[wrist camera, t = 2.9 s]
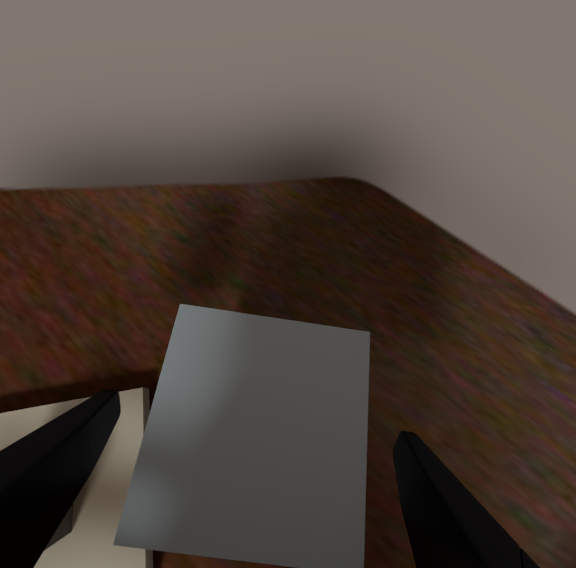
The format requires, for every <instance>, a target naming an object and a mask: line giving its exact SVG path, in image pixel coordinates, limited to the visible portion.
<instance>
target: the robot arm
mask: <svg viewBox="0 0 576 568" xmlns="http://www.w3.org/2000/svg"><path fill="white" fill-rule="evenodd" d="M120 413H121V406H120V396H119V392H118V391H114V390H107V389H106V390H102V391H101V392H99V393H97V394H95V395H94V396H92V397H90V398H89V399H87V400H85V401H84V402H82V403H80V404H78V405H77V406H75V407H73V408H72V409H70V410H68V411H67V412H65V413H63V414H62V415H60V416H58V417H56V418H55V419H53V420H51V421H50V422H48V423H46V424H45V425H43V426H41V427H39V428H38V429H36V430H34V431H33V432H31V433H29V434H28V435H26V436H24V437H23V438H21V439H19V440H17V441H16V442H14V443H12V444H11V445H9V446H7V447H6V448H4V449H2V450H0V568H34V566H35V565H36V563H37V561H38V560H39V558H40V556H41V555H42V553H43V552H44V550H45V548H46V547H47V545H48V543H49V542H50V540H51V538H52V537H53V535H54V534H55V532H56V530H57V529H58V527H59V525H60V524H61V522H62V520H63V519H64V517H65V516H66V514H67V512H68V511H69V509H70V507H71V506H72V504H73V503H74V501H75V499H76V498H77V496H78V494H79V493H80V491H81V489H82V488H83V486H84V485H85V483H86V481H87V480H88V478H89V476H90V475H91V473H92V471H93V469H94V468H95V466H96V464H97V462H98V460H99V458H100V456H101V454H102V452H103V450H104V448H105V446H106V444H107V442H108V440H109V437H110V435H111V433H112V431H113V429H114V427H115V425H116V423H117V421H118V419H119V417H120ZM393 458H394V465H395V471H396V478H397V484H398V490H399V497H400V502H401V508H402V512H403V517H404V521H405V525H406V528H407V532H408V536H409V540H410V544H411V548H412V552H413V556H414V560H415V564H416V568H540V567H539V566H538V565H537V564H536V563H535V562H534V561H533V560H532V559H531V558H530V557H529V556H528V555H527V553H526V552H525V551H524V550H523V549H521V548H520V547H519V545H518V544H517V543H516V542H515V541H514V540H513V538H512V537H511V536H510V535H509V534H508V533H507V532H506V531H505V530H504V529H503V528H502V527H501V525H500V524H499V523H498V522H497V521H496V520H495V519H494V518H493V517H492V516H491V515H490V514H489V512H488V511H487V510H486V509H485V508H484V507H483V506H482V505H481V504H480V503H479V502H478V501H477V499H476V498H475V497H474V496H473V495H472V494H471V493H470V492H469V491H468V490H467V489H466V488H465V486H464V485H463V484H462V483H461V482H460V481H459V480H458V479H457V478H456V477H455V476H454V475H453V473H452V472H451V471H450V470H449V469H448V468H447V467H446V466H445V465H444V464H443V463H442V462H441V460H440V459H439V458H438V457H437V456H436V455H435V454H434V453H433V452H432V451H431V450H430V449H429V447H428V446H427V445H426V444H425V443H424V442H423V441H422V440H421V439H420V438H419V437H418V436H417V435H416V434H415V433H413V432H408V431H401V432H400V434H399V436H398V438H397V441H396V443H395V446H394V448H393Z"/></svg>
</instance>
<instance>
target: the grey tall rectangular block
mask: <svg viewBox="0 0 576 568" xmlns="http://www.w3.org/2000/svg"><path fill="white" fill-rule="evenodd" d="M369 355H370V332H366V331H360V330H353V329H346V328H340V327H333V326H326V325H319V324H313V323H306V322H299V321H293V320H286V319H279V318H272V317H266V316H259V315H252V314H245V313H239V312H232V311H225V310H219V309H212V308H205V307H198V306H192V305H185V304H180V306H179V310H178V313H177V317H176V320H175V324H174V328H173V331H172V335H171V338H170V342H169V345H168V349H167V353H166V356H165V360H164V363H163V367H162V371H161V374H160V378H159V381H158V385H157V389H156V392H155V396H154V399H153V403H152V407H151V410H150V414H149V417H148V421H147V424H146V428H145V432H144V435H143V439H142V442H141V446H140V450H139V453H138V457H137V460H136V464H135V468H134V471H133V475H132V478H131V482H130V485H129V489H128V493H127V496H126V500H125V503H124V507H123V511H122V514H121V518H120V521H119V525H118V529H117V532H116V536H115V539H114V543H113V545H116V546H124V547H132V548H141V549H149V550H157V551H165V552H173V553H181V554H190V555H198V556H206V557H214V558H222V559H230V560H238V561H247V562H255V563H263V564H271V565H279V566H287V567H296V568H364V543H365V506H366V468H367V430H368V393H369Z"/></svg>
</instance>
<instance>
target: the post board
mask: <svg viewBox="0 0 576 568" xmlns="http://www.w3.org/2000/svg"><path fill="white" fill-rule="evenodd" d="M119 396H120V406H121V413H120V417H119V419H118V421H117V423H116V425H115V427H114V429H113V431H112V433H111V435H110V437H109V440H108V442H107V444H106V446H105V448H104V450H103V452H102V454H101V456H100V458H99V460H98V462H97V464H96V466H95V468H94V469H93V471H92V473H91V475H90V476H89V478H88V480H87V481H86V483H85V485H84V486H83V488H82V489H81V491H80V493H79V494H78V496H77V498H76V499H75V501H74V503H73V504H72V506H71V507H70V509H69V511H68V512H67V514H66V516H65V517H64V519H63V520H62V522H61V524H60V525H59V527H58V529H57V530H56V532H55V534H54V535H53V537H52V538H51V540H50V542H49V543H48V545H47V547H46V548H45V550H44V552H43V553H42V555H41V556H40V558H39V560H38V561H37V563H36V565H35V566H34V568H153V550H149V549H141V548H132V547H124V546H116V545H113V543H114V539H115V536H116V532H117V529H118V525H119V521H120V518H121V514H122V511H123V507H124V503H125V500H126V496H127V493H128V489H129V485H130V482H131V478H132V475H133V471H134V468H135V464H136V460H137V457H138V453H139V450H140V446H141V442H142V439H143V435H144V432H145V428H146V424H147V421H148V417H149V414H150V407H149V388H143V387H142V388H137V389H131V390H126V391H120V392H119ZM89 398H90V397H87V398H82V399H76V400H71V401H65V402H60V403H54V404H49V405H43V406H38V407H32V408H27V409H21V410H16V411H10V412H5V413H0V450H2V449H4V448H6V447H7V446H9V445H11V444H12V443H14V442H16V441H17V440H19V439H21V438H23V437H24V436H26V435H28V434H29V433H31V432H33V431H34V430H36V429H38V428H39V427H41V426H43V425H45V424H46V423H48V422H50V421H51V420H53V419H55V418H56V417H58V416H60V415H62V414H63V413H65V412H67V411H68V410H70V409H72V408H73V407H75V406H77V405H78V404H80V403H82V402H84V401H85V400H87V399H89Z"/></svg>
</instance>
